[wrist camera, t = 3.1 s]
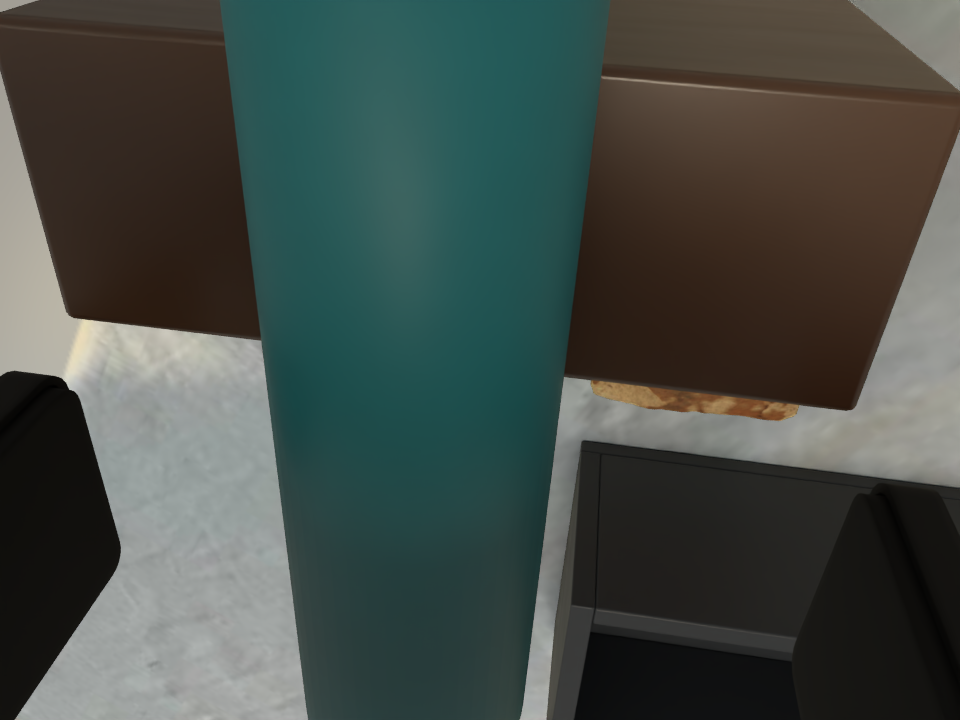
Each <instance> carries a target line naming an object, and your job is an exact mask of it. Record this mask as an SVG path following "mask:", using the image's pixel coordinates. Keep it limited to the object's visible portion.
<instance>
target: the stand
mask: <svg viewBox="0 0 960 720" xmlns="http://www.w3.org/2000/svg"><path fill="white" fill-rule="evenodd" d="M0 71H1V74H2V78H3V82H4V86H5V90H6V93H7V97H8V101H9V104H10V108H11V112H12V115H13V119H14V123H15V126H16V130H17V134H18V137H19V141H20V145H21V148H22V152H23V155H24V159H25V162H26V166H27V170H28V173H29V177H30V181H31V185H32V188H33V192H34V196H35V199H36V203H37V207H38V210H39V214H40V218H41V221H42V225H43V229H44V232H45V236H46V239H47V243H48V247H49V251H50V254H51V258H52V262H53V265H54V269H55V273H56V276H57V280H58V283H59V287H60V291H61V295H62V298H63V302H64V305H65V309H66V312H67V313H68V315H69V316H71V317H73V318H78V319H86V320H94V321H103V322H111V323H119V324H128V325H136V326H144V327H153V328H161V329H169V330H178V331H186V332H194V333H203V334H211V335H219V336H228V337H236V338H244V339H253V340H261V333H260V325H259V317H258V309H257V301H256V293H255V284H254V276H253V268H252V260H251V252H250V244H249V235H248V227H247V219H246V211H245V203H244V195H243V186H242V178H241V170H240V162H239V154H238V146H237V137H236V129H235V121H234V113H233V105H232V97H231V89H230V80H229V72H228V64H227V56H226V48H225V40H224V31H223V23H222V15H221V7H220V0H38V1H35V2H32V3H28V4H25V5H22V6H19V7H16V8H12V9H9V10H6V11H3V12H0ZM959 130H960V91H959V90H958V89H957V88H955V87H954V86H953V85H952V84H950V83H949V82H948V81H947V80H946V79H944V78H943V77H942V76H941V75H939V74H938V73H937V72H936V71H934V70H933V69H932V68H931V67H930V66H928V65H927V64H926V63H925V62H923V61H922V60H921V59H920V58H918V57H917V56H916V55H915V54H914V53H912V52H911V51H910V50H909V49H907V48H906V47H905V46H904V45H902V44H901V43H900V42H899V41H898V40H896V39H895V38H894V37H893V36H891V35H890V34H889V33H888V32H886V31H885V30H884V29H883V28H882V27H880V26H879V25H878V24H877V23H875V22H874V21H873V20H872V19H870V18H869V17H868V16H867V15H866V14H864V13H863V12H862V11H861V10H859V9H858V8H857V7H856V6H854V5H853V4H852V3H851V2H850V1H848V0H611V1H610V9H609V17H608V25H607V33H606V41H605V49H604V57H603V65H602V73H601V81H600V89H599V97H598V105H597V113H596V121H595V129H594V137H593V145H592V153H591V161H590V169H589V177H588V186H587V194H586V202H585V210H584V218H583V226H582V234H581V242H580V250H579V258H578V266H577V274H576V282H575V290H574V298H573V306H572V314H571V322H570V330H569V338H568V346H567V354H566V362H565V371H564V377H569V378H578V379H586V380H594V381H603V382H611V383H619V384H628V385H636V386H644V387H653V388H661V389H669V390H678V391H686V392H694V393H703V394H711V395H719V396H728V397H736V398H744V399H753V400H761V401H769V402H778V403H786V404H794V405H803V406H811V407H819V408H828V409H836V410H844V411H847V410H852V409H853V408H854V407H855V406H856V404H857V402H858V399H859V396H860V394H861V391H862V388H863V386H864V383H865V380H866V378H867V375H868V372H869V370H870V367H871V364H872V362H873V359H874V356H875V354H876V351H877V348H878V346H879V343H880V340H881V338H882V335H883V332H884V330H885V327H886V324H887V322H888V319H889V316H890V314H891V311H892V308H893V306H894V303H895V300H896V298H897V295H898V292H899V290H900V287H901V284H902V282H903V279H904V276H905V274H906V271H907V268H908V266H909V263H910V260H911V258H912V255H913V252H914V250H915V247H916V244H917V242H918V239H919V236H920V234H921V231H922V228H923V226H924V223H925V220H926V218H927V215H928V213H929V210H930V207H931V205H932V202H933V199H934V197H935V194H936V191H937V189H938V186H939V183H940V181H941V178H942V175H943V173H944V170H945V167H946V165H947V162H948V159H949V157H950V154H951V151H952V149H953V146H954V143H955V141H956V138H957V135H958V133H959Z"/></svg>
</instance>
